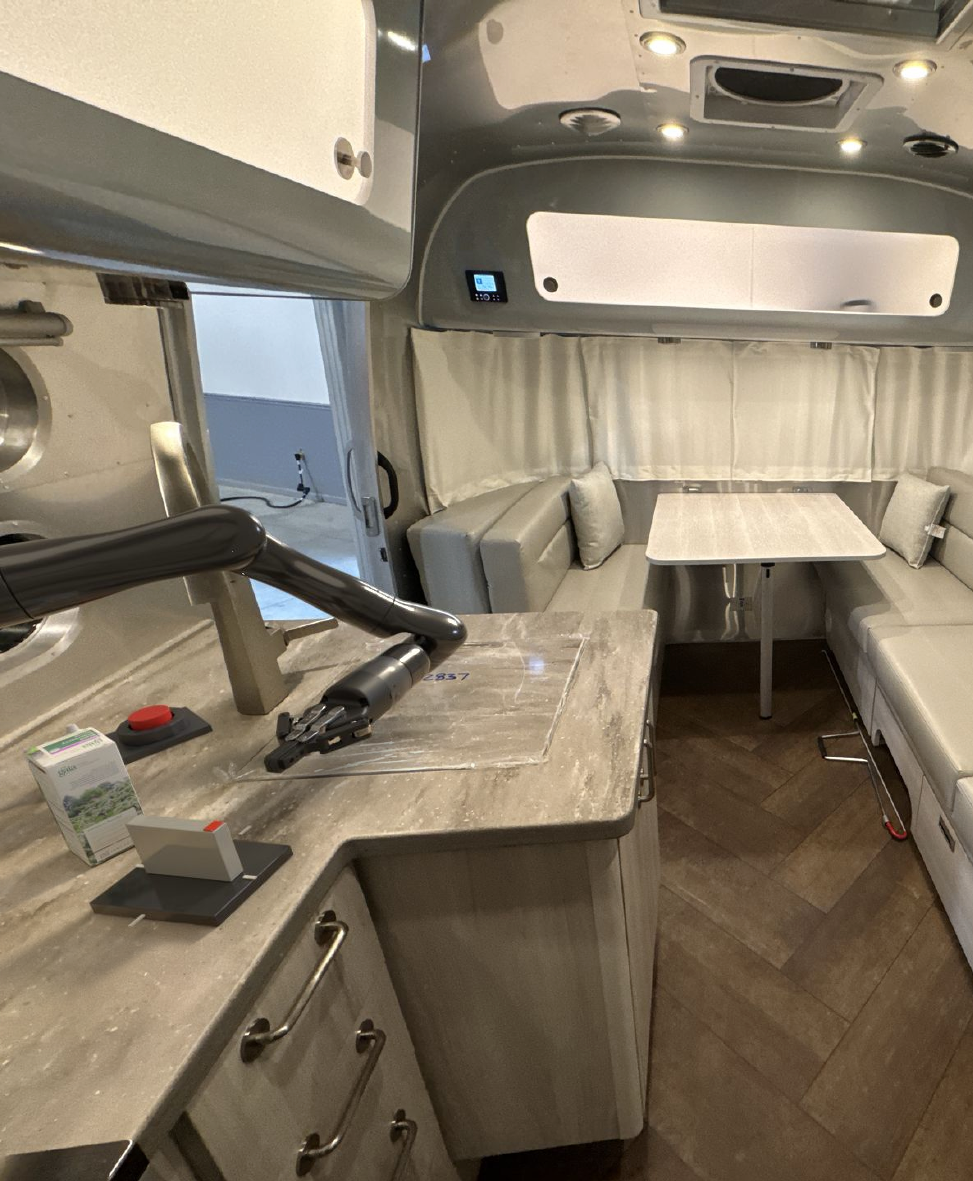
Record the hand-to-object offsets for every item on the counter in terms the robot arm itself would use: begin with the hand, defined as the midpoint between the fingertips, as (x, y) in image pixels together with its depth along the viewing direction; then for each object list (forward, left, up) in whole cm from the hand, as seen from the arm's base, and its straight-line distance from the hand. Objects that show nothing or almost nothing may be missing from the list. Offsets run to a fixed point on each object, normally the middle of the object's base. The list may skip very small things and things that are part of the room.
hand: (271, 767), depth 76 cm
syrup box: (-13, +14, -9) cm, 21 cm away
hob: (-10, -1, -9) cm, 13 cm away
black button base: (-2, +36, -9) cm, 37 cm away
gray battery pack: (-10, -1, -8) cm, 12 cm away
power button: (-2, +36, -7) cm, 36 cm away
